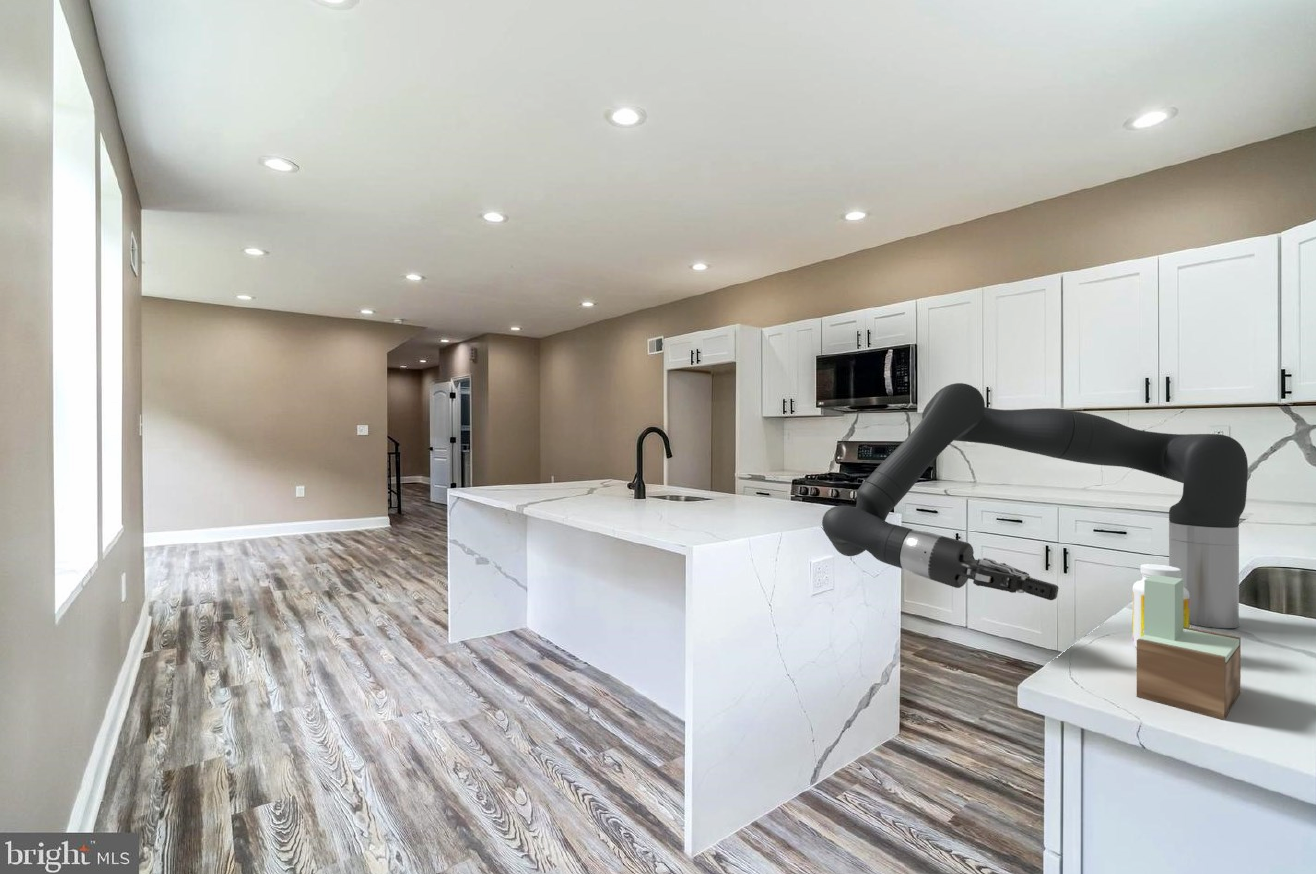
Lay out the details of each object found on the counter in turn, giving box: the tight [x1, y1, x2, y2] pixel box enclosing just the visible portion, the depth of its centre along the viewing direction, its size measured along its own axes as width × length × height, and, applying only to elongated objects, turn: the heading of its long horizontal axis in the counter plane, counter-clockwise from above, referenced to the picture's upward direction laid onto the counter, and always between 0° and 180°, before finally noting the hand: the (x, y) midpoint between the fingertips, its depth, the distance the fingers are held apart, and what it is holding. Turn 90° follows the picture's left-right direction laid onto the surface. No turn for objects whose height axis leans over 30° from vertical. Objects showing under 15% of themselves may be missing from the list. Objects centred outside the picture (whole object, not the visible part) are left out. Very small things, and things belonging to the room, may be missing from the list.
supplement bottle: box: [1132, 563, 1190, 649], centre depth 91 cm, size 7×7×13 cm
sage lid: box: [1140, 575, 1239, 662], centre depth 76 cm, size 10×8×8 cm
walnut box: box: [1136, 627, 1242, 721], centre depth 76 cm, size 12×8×7 cm, turn 129°
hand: (1056, 593), depth 88 cm, fingers closed
